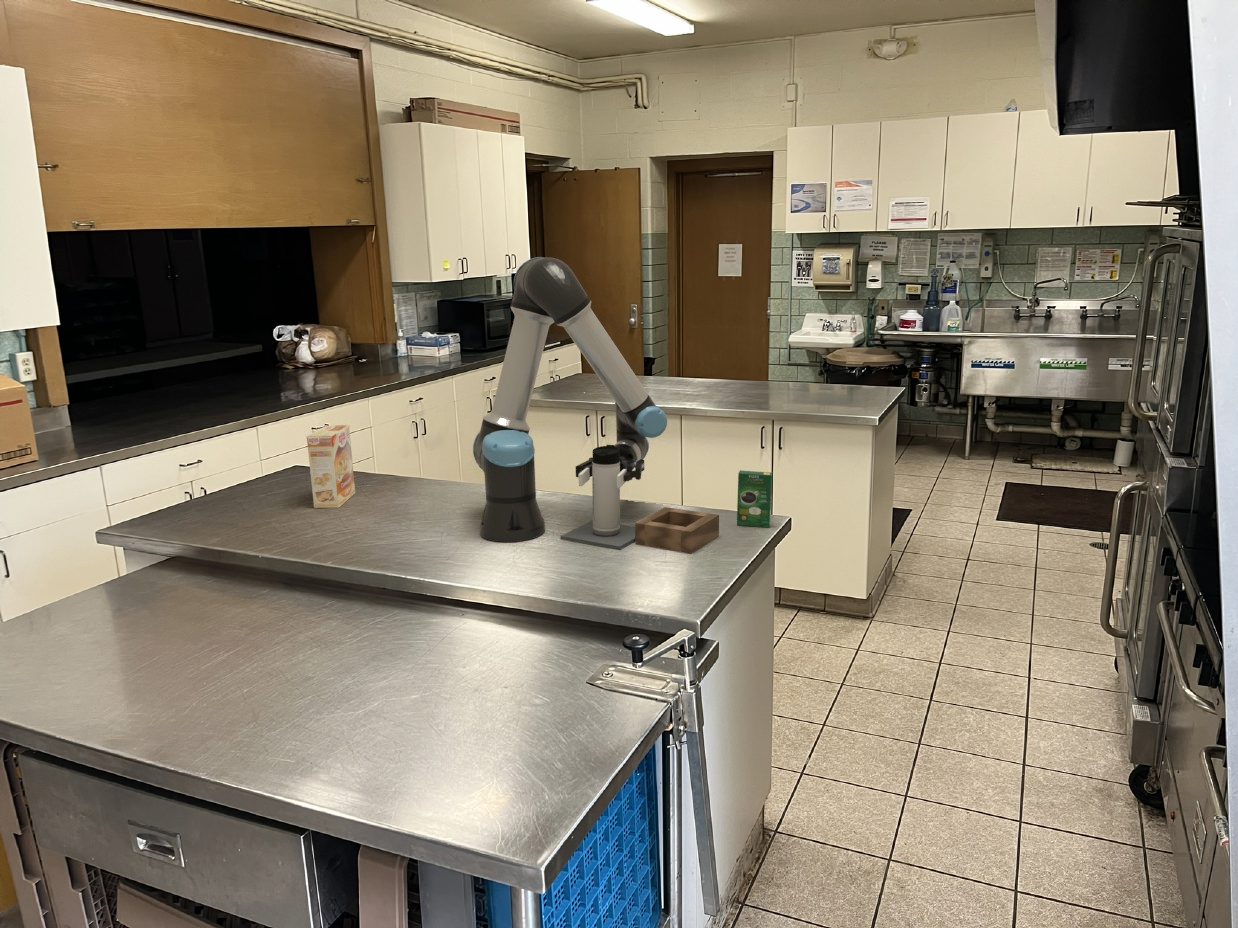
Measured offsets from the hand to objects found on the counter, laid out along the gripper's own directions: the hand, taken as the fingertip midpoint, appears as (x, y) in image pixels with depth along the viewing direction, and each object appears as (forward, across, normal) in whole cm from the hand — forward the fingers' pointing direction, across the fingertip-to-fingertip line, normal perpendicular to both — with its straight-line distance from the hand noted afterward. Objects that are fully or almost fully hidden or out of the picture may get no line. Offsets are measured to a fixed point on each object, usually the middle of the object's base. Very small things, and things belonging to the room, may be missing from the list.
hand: (599, 481), depth 196 cm
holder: (-5, -17, -14) cm, 23 cm away
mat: (-5, 0, -14) cm, 15 cm away
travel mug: (-5, 0, -14) cm, 14 cm away
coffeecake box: (-22, +80, -15) cm, 85 cm away
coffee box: (-18, -33, -14) cm, 40 cm away
